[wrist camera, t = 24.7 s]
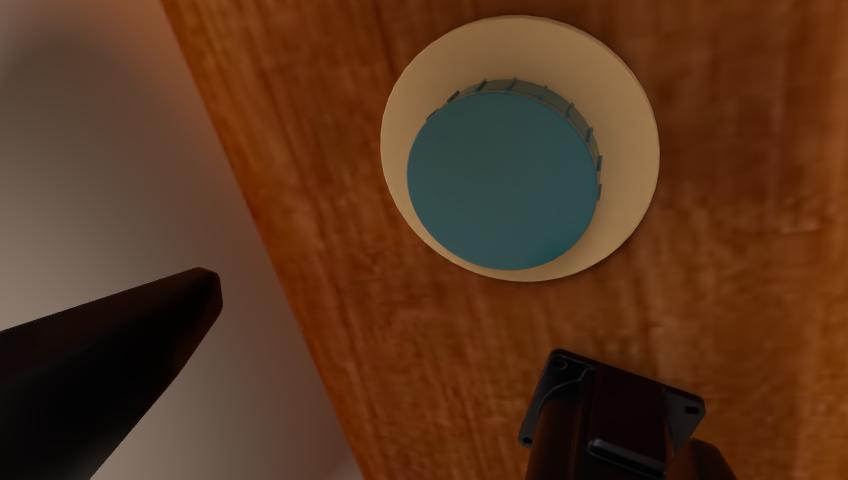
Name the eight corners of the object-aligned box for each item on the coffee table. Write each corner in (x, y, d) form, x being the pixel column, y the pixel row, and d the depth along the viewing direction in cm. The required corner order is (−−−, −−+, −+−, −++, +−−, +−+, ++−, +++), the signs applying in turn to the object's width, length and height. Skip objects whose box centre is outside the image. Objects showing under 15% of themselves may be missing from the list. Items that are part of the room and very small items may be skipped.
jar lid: (437, 55, 18) (420, 67, 16) (633, 107, 16) (632, 124, 15) (409, 217, 21) (393, 238, 20) (567, 270, 20) (562, 296, 19)
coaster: (602, 305, 21) (601, 314, 21) (375, 232, 23) (369, 239, 23) (713, 52, 15) (715, 56, 15) (400, -14, 17) (393, -12, 17)
